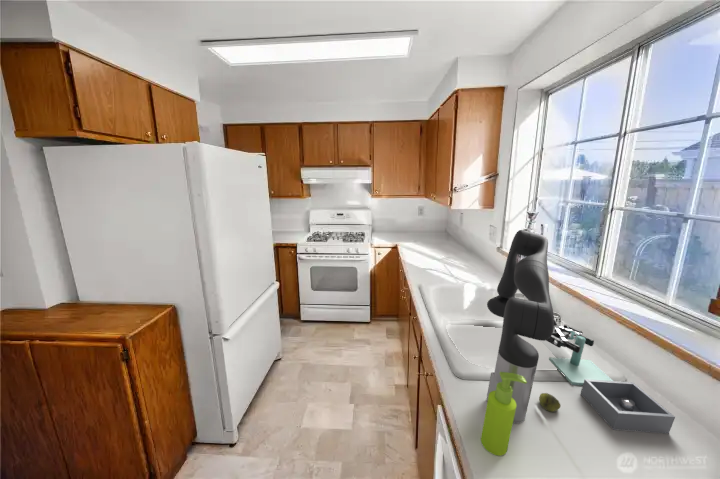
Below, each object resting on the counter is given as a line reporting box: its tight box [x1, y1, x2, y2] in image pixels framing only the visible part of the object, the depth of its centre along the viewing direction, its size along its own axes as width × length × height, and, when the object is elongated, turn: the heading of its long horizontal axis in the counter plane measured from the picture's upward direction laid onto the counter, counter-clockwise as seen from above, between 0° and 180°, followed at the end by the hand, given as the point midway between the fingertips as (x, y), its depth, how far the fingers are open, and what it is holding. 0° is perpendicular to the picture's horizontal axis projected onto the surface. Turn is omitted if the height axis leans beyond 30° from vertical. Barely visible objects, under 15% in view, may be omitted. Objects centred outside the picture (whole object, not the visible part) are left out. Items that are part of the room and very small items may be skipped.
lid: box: [548, 336, 614, 386], centre depth 93 cm, size 14×12×12 cm
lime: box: [538, 392, 561, 413], centre depth 79 cm, size 4×5×5 cm
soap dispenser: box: [480, 372, 527, 457], centre depth 67 cm, size 6×7×20 cm
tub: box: [580, 379, 676, 434], centre depth 79 cm, size 14×12×6 cm
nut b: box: [619, 397, 635, 411], centre depth 81 cm, size 3×3×2 cm
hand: (586, 346), depth 94 cm, fingers open, 8 cm apart
